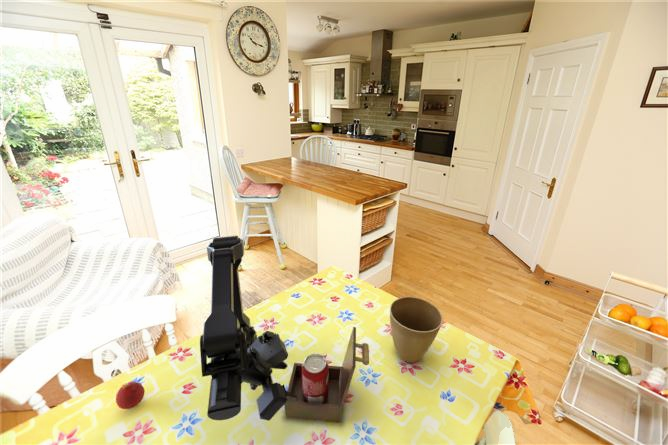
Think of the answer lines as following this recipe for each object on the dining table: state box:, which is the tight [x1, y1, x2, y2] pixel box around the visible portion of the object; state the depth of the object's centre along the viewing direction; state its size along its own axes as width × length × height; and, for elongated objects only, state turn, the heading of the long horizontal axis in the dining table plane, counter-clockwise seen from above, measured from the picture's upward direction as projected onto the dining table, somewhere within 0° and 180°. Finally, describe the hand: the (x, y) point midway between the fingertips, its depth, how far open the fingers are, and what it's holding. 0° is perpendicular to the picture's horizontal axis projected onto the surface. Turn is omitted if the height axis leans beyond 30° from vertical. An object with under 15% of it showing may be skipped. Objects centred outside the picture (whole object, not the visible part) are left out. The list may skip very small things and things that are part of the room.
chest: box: [284, 362, 342, 423], centre depth 75 cm, size 14×12×5 cm
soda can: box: [302, 353, 330, 404], centre depth 74 cm, size 7×7×12 cm
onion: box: [115, 381, 146, 410], centre depth 72 cm, size 6×6×8 cm
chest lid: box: [340, 326, 370, 408], centre depth 71 cm, size 14×12×4 cm
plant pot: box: [389, 296, 444, 364], centre depth 87 cm, size 15×15×16 cm
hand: (291, 382), depth 71 cm, fingers open, 9 cm apart
